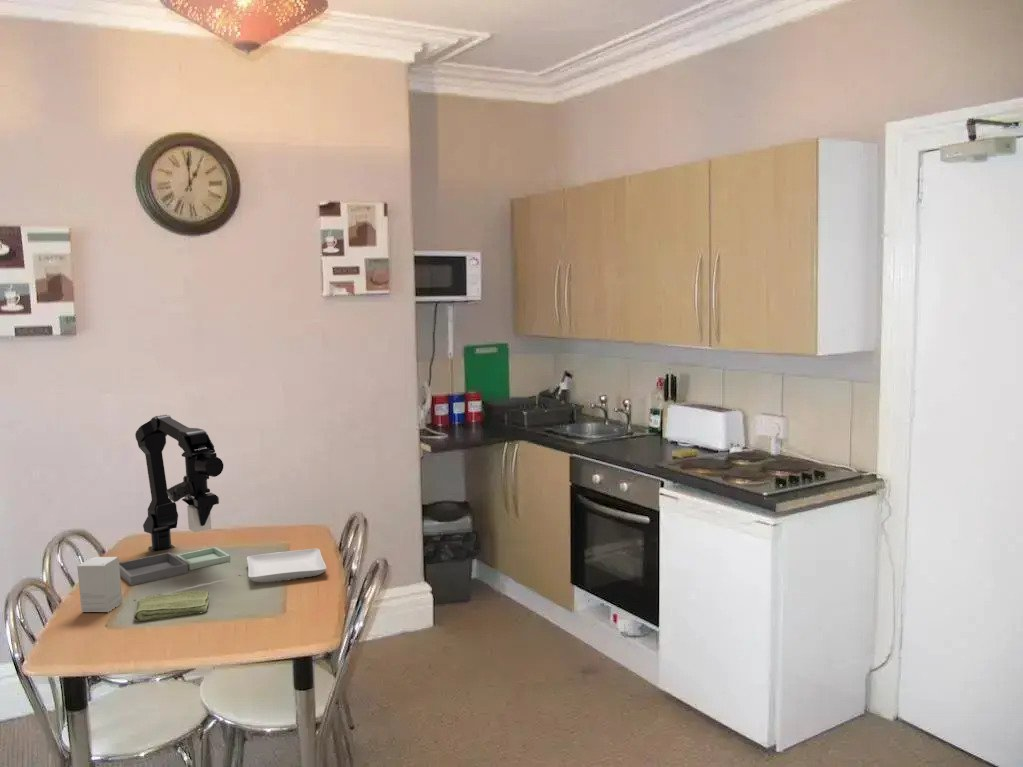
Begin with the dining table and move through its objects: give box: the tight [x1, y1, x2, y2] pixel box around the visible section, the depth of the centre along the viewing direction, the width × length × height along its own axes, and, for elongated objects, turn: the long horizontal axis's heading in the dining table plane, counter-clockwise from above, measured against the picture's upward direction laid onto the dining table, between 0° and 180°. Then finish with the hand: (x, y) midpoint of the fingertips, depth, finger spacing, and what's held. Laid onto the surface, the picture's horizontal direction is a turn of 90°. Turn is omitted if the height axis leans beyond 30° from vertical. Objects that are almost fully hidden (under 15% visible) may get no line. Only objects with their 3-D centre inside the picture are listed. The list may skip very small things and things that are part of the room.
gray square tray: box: [119, 551, 189, 586], centre depth 247 cm, size 16×16×3 cm
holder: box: [175, 546, 232, 571], centre depth 257 cm, size 12×12×2 cm
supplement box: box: [76, 556, 123, 613], centre depth 221 cm, size 7×7×13 cm
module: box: [186, 505, 212, 533], centre depth 255 cm, size 5×5×7 cm
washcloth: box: [133, 590, 210, 622], centre depth 220 cm, size 13×18×3 cm
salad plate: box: [246, 548, 327, 583], centre depth 247 cm, size 21×21×3 cm
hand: (199, 523), depth 255 cm, fingers closed on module, 5 cm apart
